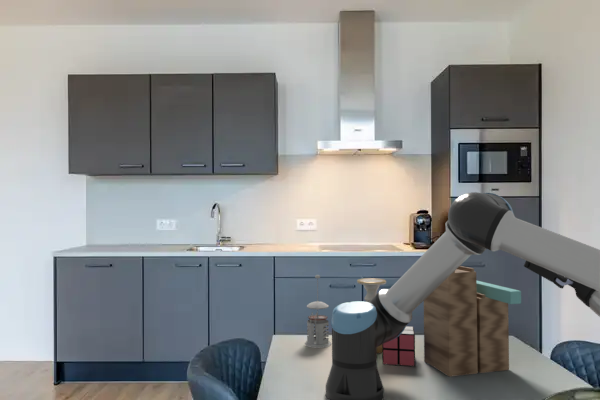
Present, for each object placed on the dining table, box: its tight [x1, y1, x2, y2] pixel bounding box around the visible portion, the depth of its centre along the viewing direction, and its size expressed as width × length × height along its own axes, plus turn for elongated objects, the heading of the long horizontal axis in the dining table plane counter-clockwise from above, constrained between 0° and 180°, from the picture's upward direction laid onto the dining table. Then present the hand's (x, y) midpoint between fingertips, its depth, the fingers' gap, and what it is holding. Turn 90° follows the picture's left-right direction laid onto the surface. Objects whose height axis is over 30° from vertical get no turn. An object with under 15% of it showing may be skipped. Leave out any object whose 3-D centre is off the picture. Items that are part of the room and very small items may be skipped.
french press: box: [304, 274, 332, 349], centre depth 166 cm, size 10×12×25 cm
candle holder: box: [356, 277, 387, 355], centre depth 161 cm, size 11×11×24 cm
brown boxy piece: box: [423, 265, 510, 377], centre depth 143 cm, size 20×14×31 cm
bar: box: [476, 279, 522, 305], centre depth 141 cm, size 24×4×4 cm, turn 15°
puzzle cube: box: [381, 325, 416, 367], centre depth 148 cm, size 10×10×10 cm
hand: (539, 243), depth 121 cm, fingers open, 13 cm apart
